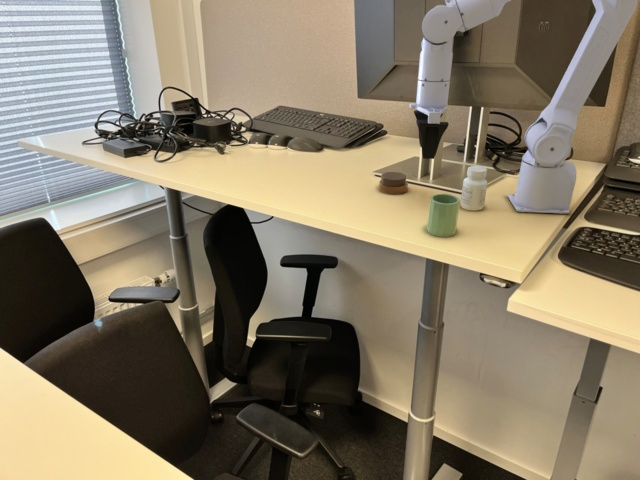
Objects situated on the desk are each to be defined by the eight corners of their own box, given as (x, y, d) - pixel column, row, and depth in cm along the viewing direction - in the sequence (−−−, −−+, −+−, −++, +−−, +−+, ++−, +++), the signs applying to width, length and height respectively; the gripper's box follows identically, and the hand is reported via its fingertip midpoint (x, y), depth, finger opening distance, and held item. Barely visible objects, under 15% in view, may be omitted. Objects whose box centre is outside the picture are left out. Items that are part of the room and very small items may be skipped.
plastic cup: (453, 225, 83) (457, 194, 81) (457, 237, 79) (461, 205, 76) (426, 224, 84) (429, 192, 81) (428, 236, 79) (431, 203, 77)
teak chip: (406, 184, 102) (407, 178, 101) (408, 194, 96) (408, 188, 96) (379, 183, 102) (379, 177, 102) (378, 193, 97) (379, 187, 96)
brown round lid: (405, 178, 101) (405, 172, 100) (406, 187, 96) (406, 180, 96) (381, 178, 101) (381, 171, 101) (380, 186, 97) (381, 179, 96)
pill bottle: (480, 202, 92) (486, 165, 89) (485, 211, 89) (492, 172, 85) (458, 202, 93) (463, 164, 89) (462, 210, 89) (467, 172, 85)
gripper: (409, 73, 92) (404, 141, 98) (413, 85, 79) (407, 163, 85) (446, 74, 91) (439, 142, 97) (456, 86, 78) (447, 164, 84)
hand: (426, 152), depth 91 cm, fingers open, 7 cm apart
